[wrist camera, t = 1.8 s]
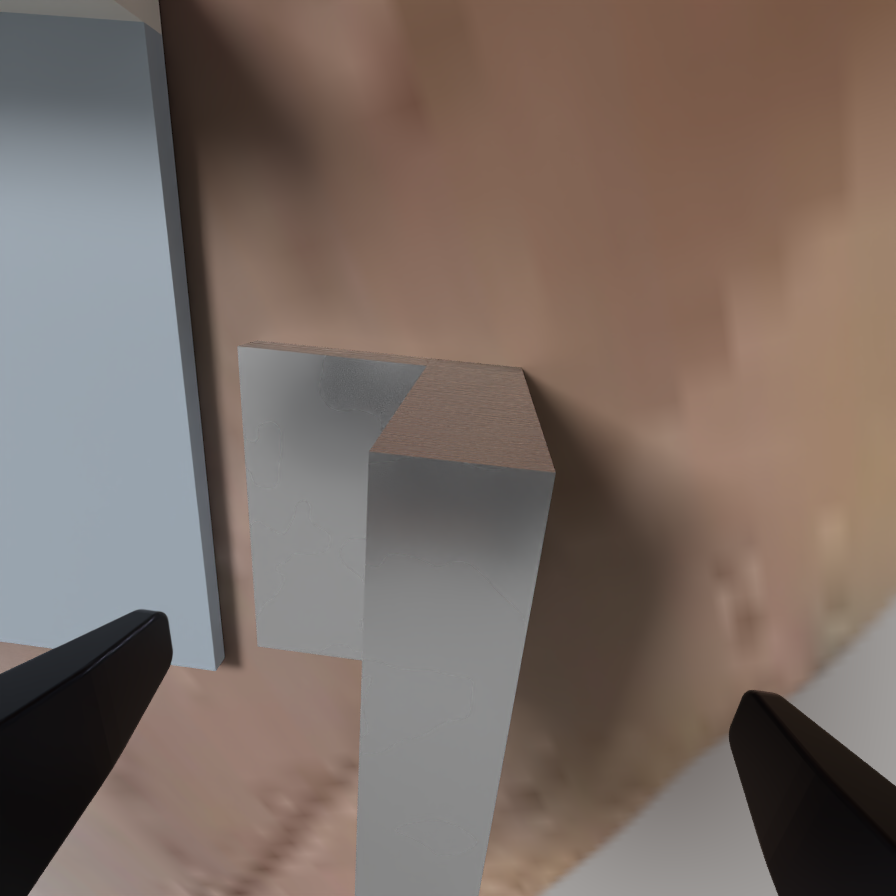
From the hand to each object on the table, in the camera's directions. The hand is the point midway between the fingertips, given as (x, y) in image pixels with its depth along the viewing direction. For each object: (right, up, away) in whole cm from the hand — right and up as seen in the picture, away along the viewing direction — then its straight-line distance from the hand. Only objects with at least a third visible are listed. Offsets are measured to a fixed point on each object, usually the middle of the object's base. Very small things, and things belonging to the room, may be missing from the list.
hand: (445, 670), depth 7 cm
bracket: (-1, +2, +5) cm, 5 cm away
